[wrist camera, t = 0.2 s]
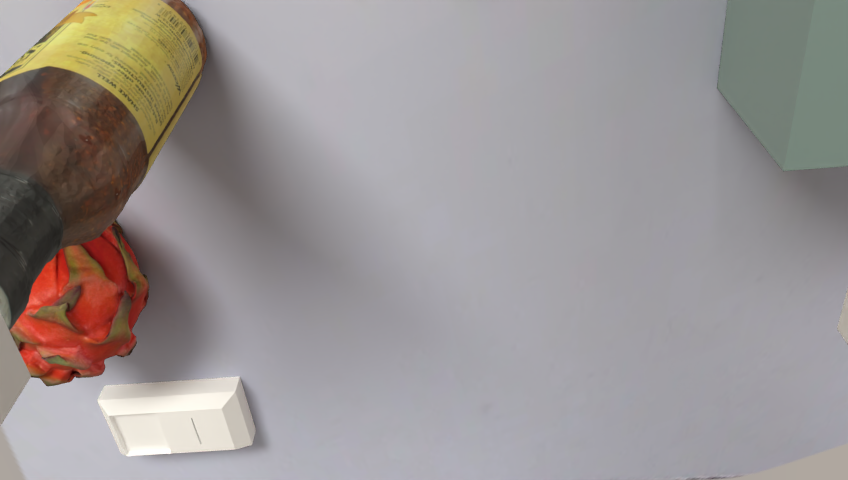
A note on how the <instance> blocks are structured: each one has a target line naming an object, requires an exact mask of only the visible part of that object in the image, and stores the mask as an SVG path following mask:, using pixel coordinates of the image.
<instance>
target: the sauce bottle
mask: <svg viewBox="0 0 848 480" xmlns="http://www.w3.org/2000/svg"><path fill="white" fill-rule="evenodd" d="M206 57H207V51H206V43H205V38H204V35H203V32H202V30H201V28H200V27H199V25H198V23H197V21H196V18H195V17H194V15H193V14H192V12H191V11H190V9H189V8H188V7H187V6H186V5H185V4H184V3H183V2H182V1H180V0H83V1H82V2H81V3H80V4H79V5H78V6H77V7H76V8H75V9H74V10H73V11H72V12H70V13H69V14H68V15H67V16H66V17H65V18H64V19H63V20H62V21H61V22H60V23H59V24H57V25H56V26H55V27H54V28H53V29H52V30H51V31H50V32H49V33H47V34H46V35H45V36H44V37H43V38H42V39H40V40H39V42H38V43H36V44H35V45H34V46H33V47H32V48H31V49H30V50H28V51H27V52H26V53H25V54H24V55H23V56H22V57H21V58H19V59H18V60H17V61H16V62H15V63H14V64H13V65H12V66H11V67H10V68H9V69H8V70H7V71H6V72H5V73H4V74H3V75H1V76H0V313H1V315H2V317H3V319H4V321H5V323H6V325H7V327H8V329H9V331H10V330H11V328H12V327H13V326H14V324H15V323H16V321H17V320H18V318H19V317H20V315H21V314H22V313H23V312H24V310H25V309H26V306H27V304H28V302H29V296H30V294H31V289H32V286H33V283H34V282H35V281H36V279H37V277H38V276H39V275H40V273H41V272H42V270H43V268H44V266H45V265H46V264H47V263H48V262H50V261H51V260H52V259H53V258H54V256H55V255H56V254H57V253H58V252H59V250H60V249H63V248H65V247H68V246H76V245H79V244H82V243H86V242H89V241H92V240H94V239H96V238H98V237H100V235H101V234H102V233H103V232H104V231H105V230H106V229H107V228H108V227H109V226H111V224H113V222H114V221H115V220H116V218H117V217H118V216H119V214H120V212H121V211H122V210H123V208H124V206H125V204H126V202H127V201H128V199H129V197H130V196H131V194H132V193H133V192H134V191H135V190H136V189H137V188H138V187H139V186H140V184H141V183H142V181H143V180H144V178H145V176H146V174H147V173H148V171H149V169H150V168H151V166H152V164H153V162H154V161H155V159H156V157H157V155H158V154H159V152H160V150H161V148H162V147H163V145H164V143H165V142H166V140H167V138H168V137H169V135H170V133H171V132H172V130H173V128H174V126H175V125H176V123H177V121H178V120H179V118H180V116H181V114H182V113H183V111H184V109H185V107H186V106H187V104H188V102H189V100H190V99H191V97H192V95H193V93H194V92H195V90H196V88H197V86H198V84H199V82H200V79H201V76H202V74H201V73H202V71H203V66H204V64H205V62H206Z"/></svg>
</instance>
